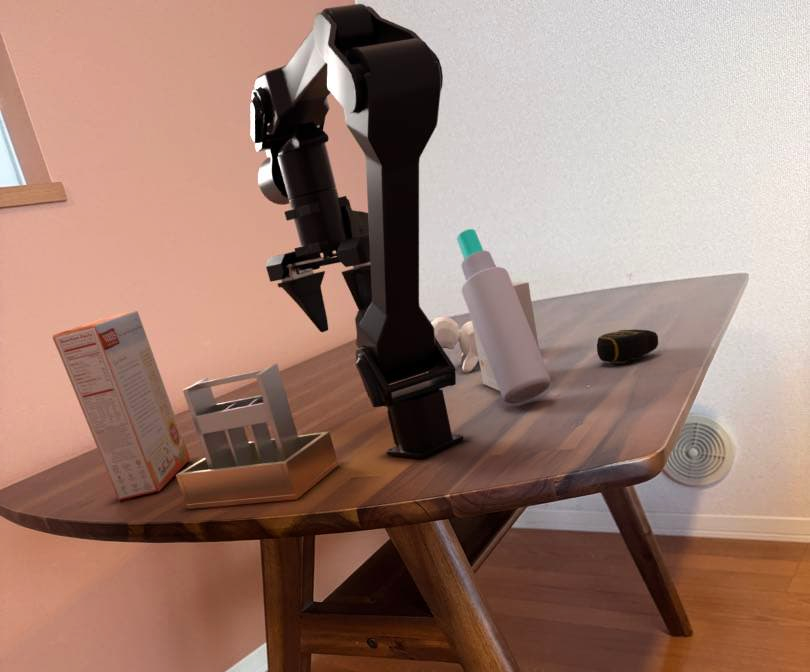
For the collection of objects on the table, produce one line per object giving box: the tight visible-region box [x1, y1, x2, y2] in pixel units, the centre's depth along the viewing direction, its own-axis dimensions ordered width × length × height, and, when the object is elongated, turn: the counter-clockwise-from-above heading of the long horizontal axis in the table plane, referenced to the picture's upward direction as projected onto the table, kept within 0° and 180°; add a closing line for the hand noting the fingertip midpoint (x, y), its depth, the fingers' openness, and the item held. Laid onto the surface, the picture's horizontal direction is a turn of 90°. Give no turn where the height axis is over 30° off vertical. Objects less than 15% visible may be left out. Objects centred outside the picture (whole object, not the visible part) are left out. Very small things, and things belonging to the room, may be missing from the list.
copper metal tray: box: [175, 430, 339, 510], centre depth 86 cm, size 14×10×4 cm
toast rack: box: [182, 363, 302, 470], centre depth 85 cm, size 9×5×12 cm, turn 80°
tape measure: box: [596, 329, 659, 365], centre depth 103 cm, size 7×7×4 cm
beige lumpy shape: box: [430, 315, 479, 374], centre depth 123 cm, size 9×8×15 cm
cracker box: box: [52, 310, 191, 501], centre depth 98 cm, size 14×6×21 cm, turn 178°
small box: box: [470, 281, 540, 392], centre depth 105 cm, size 8×6×13 cm
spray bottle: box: [456, 228, 552, 405], centre depth 94 cm, size 6×6×22 cm
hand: (347, 329), depth 95 cm, fingers open, 9 cm apart
